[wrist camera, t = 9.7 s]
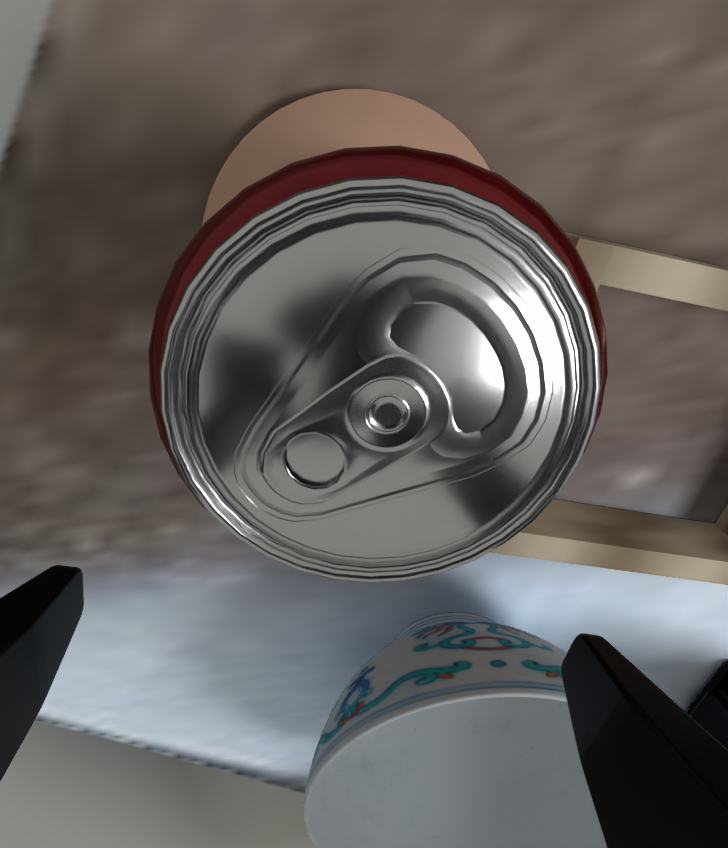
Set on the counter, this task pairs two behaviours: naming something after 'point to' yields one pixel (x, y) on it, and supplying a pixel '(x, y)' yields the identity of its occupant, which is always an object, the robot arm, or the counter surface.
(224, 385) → the soda can
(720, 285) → the square beige frame
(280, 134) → the saucer
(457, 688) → the chinaware
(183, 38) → the counter surface
